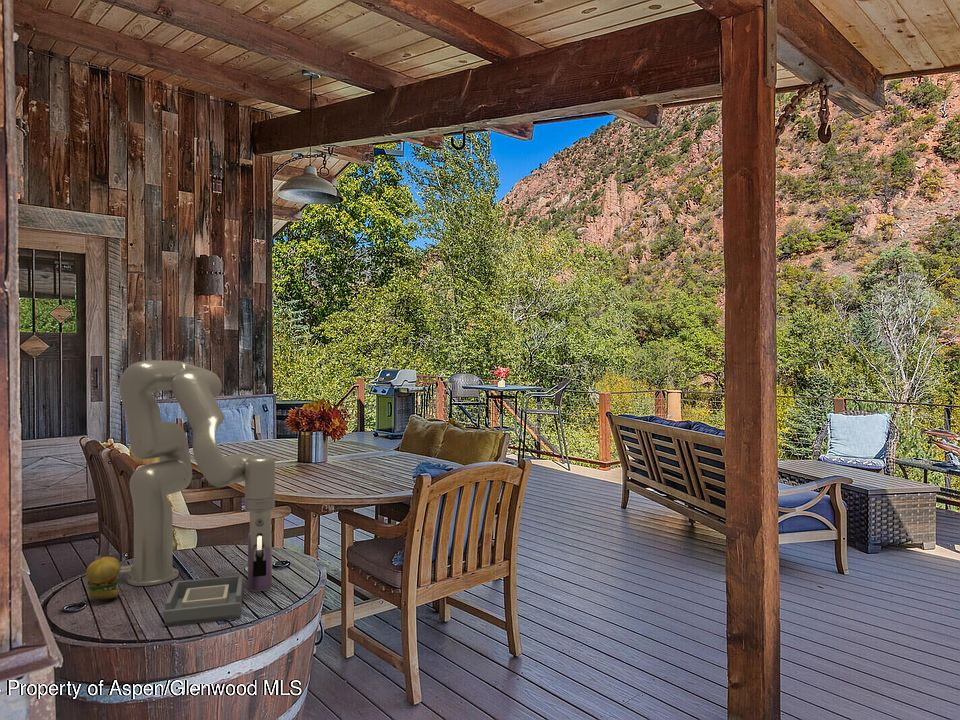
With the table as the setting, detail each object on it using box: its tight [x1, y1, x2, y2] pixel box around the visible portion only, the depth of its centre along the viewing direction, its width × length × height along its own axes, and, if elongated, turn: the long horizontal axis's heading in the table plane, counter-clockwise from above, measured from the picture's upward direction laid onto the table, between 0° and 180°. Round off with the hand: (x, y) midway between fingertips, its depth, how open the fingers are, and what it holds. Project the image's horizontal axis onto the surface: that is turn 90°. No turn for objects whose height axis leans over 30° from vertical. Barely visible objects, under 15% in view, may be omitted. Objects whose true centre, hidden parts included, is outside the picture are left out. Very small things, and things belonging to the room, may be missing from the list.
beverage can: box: [247, 531, 273, 593], centre depth 168 cm, size 6×6×15 cm
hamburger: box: [85, 555, 122, 600], centre depth 160 cm, size 8×7×12 cm
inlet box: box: [163, 574, 244, 627], centre depth 154 cm, size 16×16×5 cm
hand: (259, 571), depth 168 cm, fingers closed on beverage can, 6 cm apart
